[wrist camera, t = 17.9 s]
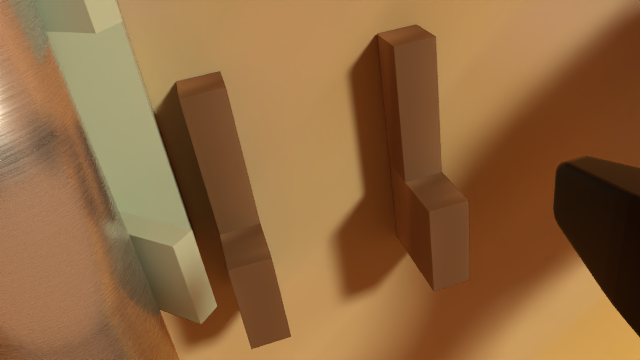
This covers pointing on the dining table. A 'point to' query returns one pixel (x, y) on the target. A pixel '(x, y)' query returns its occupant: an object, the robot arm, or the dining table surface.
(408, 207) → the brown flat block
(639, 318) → the robot arm
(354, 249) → the dining table surface
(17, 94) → the brown rounded bar
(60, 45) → the cradle
